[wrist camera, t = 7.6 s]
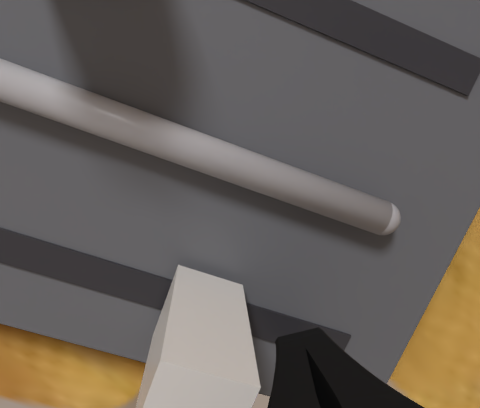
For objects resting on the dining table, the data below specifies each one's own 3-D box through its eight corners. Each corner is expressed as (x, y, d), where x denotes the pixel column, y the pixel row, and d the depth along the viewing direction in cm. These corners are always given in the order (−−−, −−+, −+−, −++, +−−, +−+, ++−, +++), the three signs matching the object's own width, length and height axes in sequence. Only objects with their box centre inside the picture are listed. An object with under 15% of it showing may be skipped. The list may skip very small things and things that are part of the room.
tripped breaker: (243, 284, 12) (260, 387, 8) (215, 352, 13) (218, 482, 8) (178, 264, 12) (160, 360, 7) (152, 334, 12) (122, 461, 8)
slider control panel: (525, 28, 13) (615, 8, 10) (347, 383, 16) (377, 446, 13) (-148, -290, 10) (-296, -449, 7) (-211, 224, 13) (-332, 261, 10)
